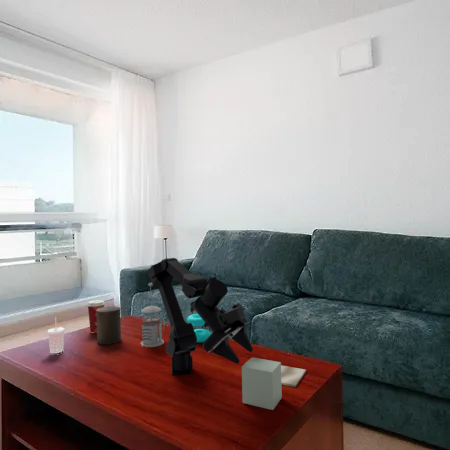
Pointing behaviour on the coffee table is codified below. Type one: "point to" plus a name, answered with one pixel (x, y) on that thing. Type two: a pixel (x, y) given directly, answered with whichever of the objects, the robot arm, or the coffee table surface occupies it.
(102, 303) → the paper cup
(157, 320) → the french press
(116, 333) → the pillar candle
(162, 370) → the coffee table surface
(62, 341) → the beverage cup
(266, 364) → the bulging sage box
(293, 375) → the birch coaster
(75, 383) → the coffee table surface
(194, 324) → the donuts
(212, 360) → the coffee table surface
